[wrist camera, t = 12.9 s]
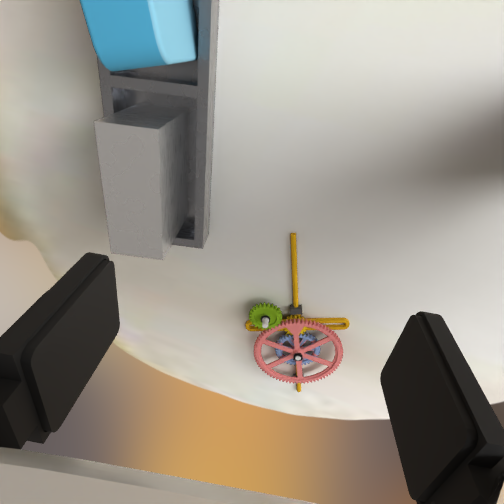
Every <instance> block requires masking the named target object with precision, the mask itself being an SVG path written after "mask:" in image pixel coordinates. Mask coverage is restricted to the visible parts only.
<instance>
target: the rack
mask: <svg viewBox="0 0 504 504" xmlns="http://www.w3.org/2000/svg"><path fill="white" fill-rule="evenodd" d="M192 1H193V7H194V13H195V20H196V26H197V32H198V38H199V39H198V59H197V60H194V61H188V62H182V63H176V64H169V65H161V66H153V67H145V68H137V69H129V70H121V71H110V70H108V69H107V68H106V67H105V66H104V65H103V64H102V63H101V61H100V60H99V58H98V56H97V60H98V69H99V77H100V86H101V95H102V103H103V112H104V117H103V118H101V119H98V120H96V121H94V127H95V135H96V142H97V150H98V157H99V165H100V172H101V180H102V188H103V195H104V203H105V210H106V218H107V225H108V233H109V241H110V248H111V253H114V254H122V255H129V256H137V257H145V258H152V259H160V260H163V259H164V257H165V256H166V254H167V252H168V250H169V248H170V246H171V245H179V246H186V247H194V248H202V249H203V247H204V244H205V242H206V239H207V236H208V234H209V216H210V194H211V171H212V149H213V127H214V105H215V83H216V61H217V39H218V16H219V0H192Z"/></svg>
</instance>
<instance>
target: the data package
mask: <svg viewBox="0 0 504 504" xmlns="http://www.w3.org/2000/svg"><path fill="white" fill-rule="evenodd" d="M80 3H81V6H82V10H83V13H84V16H85V20H86V23H87V27H88V30H89V33H90V37H91V40H92V43H93V46H94V49H95V52H96V54H97V56H98V58H99V60H100V61H101V63H102V64H103V65H104V66H105V67H106V68H107V69H108V70H110V71H121V70H129V69H137V68H145V67H153V66H161V65H169V64H176V63H182V62H188V61H194V60H197V59H198V39H199V38H198V32H197V26H196V20H195V13H194V7H193V1H192V0H80Z"/></svg>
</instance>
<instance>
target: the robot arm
mask: <svg viewBox="0 0 504 504" xmlns="http://www.w3.org/2000/svg"><path fill="white" fill-rule="evenodd" d="M119 326H120V321H119V310H118V300H117V289H116V278H115V268H114V263H113V262H112V261H109V258H108V256H106V255H101V254H95V253H90V252H89V253H86V254H85V255H84V256H83V257H82V258H81V259H80V260H79V261H78V262H77V263H76V264H75V265H74V266H73V267H72V268H71V269H70V270H69V271H68V272H67V273H66V274H65V275H64V276H63V277H62V278H61V279H60V280H59V281H58V282H57V283H56V284H55V285H54V286H53V287H52V288H51V289H50V290H48V291H47V292H46V293H45V294H43V295H42V297H40V298H39V299H38V300H37V301H36V302H35V303H34V304H33V305H32V306H31V307H30V308H29V309H28V310H27V311H26V312H25V313H24V314H23V315H22V316H21V317H20V318H19V319H18V320H17V321H16V322H15V323H14V324H13V325H12V326H11V327H10V328H9V329H8V330H7V331H6V332H5V333H4V334H3V335H2V336H1V337H0V504H316V503H312V502H307V501H302V500H297V499H291V498H286V497H281V496H275V495H270V494H265V493H259V492H254V491H249V490H244V489H239V488H233V487H228V486H223V485H217V484H212V483H207V482H201V481H196V480H191V479H185V478H180V477H175V476H169V475H163V474H158V473H153V472H147V471H142V470H136V469H131V468H126V467H120V466H114V465H109V464H104V463H98V462H93V461H87V460H82V459H76V458H70V457H64V456H58V455H51V454H46V453H39V452H33V451H27V450H21V448H22V447H23V445H24V444H25V442H26V441H32V442H37V443H42V444H43V443H44V442H45V440H46V439H47V437H48V436H49V434H50V433H51V432H56V431H57V430H58V429H59V427H60V426H61V425H62V423H63V421H64V420H65V418H66V417H67V415H68V413H69V412H70V410H71V408H72V407H73V405H74V404H75V402H76V400H77V398H78V397H79V395H80V394H81V392H82V391H83V389H84V387H85V386H86V384H87V382H88V381H89V379H90V378H91V376H92V374H93V373H94V371H95V369H96V368H97V366H98V364H99V363H100V361H101V359H102V358H103V356H104V355H105V353H106V351H107V350H108V348H109V346H110V345H111V343H112V342H113V340H114V339H115V337H116V335H117V333H118V331H119ZM380 379H381V385H382V389H383V393H384V397H385V401H386V405H387V409H388V413H389V417H390V420H391V424H392V428H393V432H394V436H395V440H396V444H397V448H398V451H399V456H400V459H401V463H402V467H403V471H404V475H405V479H406V482H407V486H408V491H409V494H410V496H411V498H412V499H413V500H416V502H417V504H504V429H503V427H502V426H501V424H500V422H499V420H498V418H497V416H496V415H495V413H494V411H493V409H492V407H491V406H490V404H489V402H488V400H487V398H486V396H485V395H484V393H483V391H482V389H481V387H480V385H479V384H478V382H477V380H476V378H475V376H474V374H473V373H472V371H471V369H470V367H469V365H468V363H467V362H466V360H465V358H464V356H463V354H462V352H461V351H460V349H459V347H458V345H457V343H456V341H455V340H454V338H453V336H452V334H451V332H450V330H449V329H448V327H447V325H446V323H445V321H444V319H443V318H442V316H440V315H438V314H433V313H427V312H418V313H417V314H416V315H412V316H411V317H410V318H409V320H408V322H407V324H406V326H405V328H404V330H403V331H402V333H401V335H400V337H399V339H398V341H397V343H396V345H395V347H394V349H393V351H392V352H391V354H390V356H389V358H388V360H387V362H386V364H385V366H384V368H383V370H382V372H381V378H380Z"/></svg>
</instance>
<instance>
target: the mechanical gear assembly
mask: <svg viewBox="0 0 504 504" xmlns="http://www.w3.org/2000/svg"><path fill="white" fill-rule="evenodd" d="M290 235H291V258H292V282H293V305H290V313H291V317H288V316H287V319H282V314H281V312H282V311H280V308H277V306H273V304H271V305H269V303H267V304H265V302H264V303H263V304H261V303H260V305H258V304H256V307H254V306H253V309H251V310H250V312H249V319H250V320H248V321H247V322H246V325H245V326H246V329H247V330H248V331H263V333H262V332H261V335H259V337H257V340H256V342H255V345H254V357H255V360H256V362H257V365H259V367H260V369H262V371H265V373H267V375H270V377H271V376H273V378H275V377H276V380H277V379H279V381H280V380H282V382H284V381H286V382H288V381H289V383H291V382H293V383H297V391H298V392H300V391H301V383H305V382H307V383H309V381H310V382H312V380H313V381H314V382H315V380H318V381H319V379H322V377H323V378H325V376H328V374H329V375H330V374H331V373H333V371H335V368H336V369H337V366H339V364H340V361H342V356H343V348H342V344H341V341H340V338H338V336H337V335H336V333H334V331H332V330H341V329H347V328H348V327H349V321H348V319H346V318H307V319H304V317H301V314H302V305H298V283H297V252H296V233H291V234H290ZM319 323H321V324H319ZM322 323H345V324H344V325H323V324H322ZM250 325H255V326H250ZM306 330H319V331H321V332H322V333H324V334H325V335H327V337H325V338H323V339H321V340H319V341H317V338H316V339H315V336H313V337H312V334H311V335H309V333H307V334H305V332H306ZM275 331H285V332H286V331H287V333H285V336H284V335H282V337H279V339H278V340H277V342H276V343H275V342H272V341H269V340H266V338H267V337H268V336H269V335H271V334H272V333H273V332H275ZM292 338H294V341H293V340H292ZM299 338H303V339H302V340H301V341H300V342H299ZM307 340H309V341H310V342H311V343H312V344H310V345H308V346H306V347H303V345H304V344H305V342H306V341H307ZM285 341H288V342H289V343H290V344H291V345H292V347H286V346H283V345H282V344H283V343H284V342H285ZM329 341H332V342H333V344H334V346H335V357H334V360H333V361H332V362H330V361H327V360H324V359H321V358H318V357H317V356H319V353H320V345H322V344H325V343H327V342H329ZM262 344H265V345H268V346H271V347H274V348H275V351H276V354H277V356H279V359H278V360H276V361H274V362H272V363H269V364H266V363H265V362H264V361H263V358H262V356H261V347H262ZM282 351H286V352H289V353H291V354H289V355H287V356H285V355H284V354H283V353H282ZM307 351H313V353H312V354H311V355H309V354H307V353H305V352H307ZM293 358H294V359H293ZM309 361H310V362H313V361H315V362H318V363H321V364H324V365H327V366H328V367H327V368H326V369H325V370H323V371H322V372H319V373H317V374H315V375H311V376H306V377H303V374H302V365H303V363H304V364H305V365H306V363H308V364H309ZM283 362H287V364H288V363H290V365H292V364H294V365H296V374H294V377H290V376H286V375H282V374H280V373H277V372H275V371H274V370H272V369H271V368H272V367H275V366H277V365H279V364H281V363H283ZM330 372H331V373H330Z"/></svg>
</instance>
